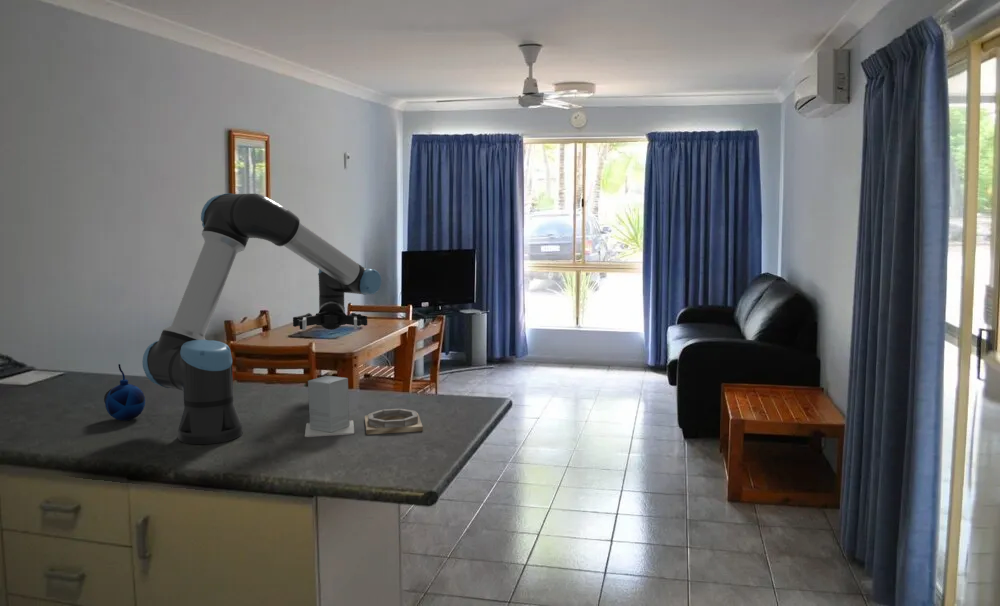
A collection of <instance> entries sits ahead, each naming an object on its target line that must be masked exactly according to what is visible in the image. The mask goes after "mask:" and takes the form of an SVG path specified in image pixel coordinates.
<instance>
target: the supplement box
mask: <svg viewBox="0 0 1000 606" xmlns="http://www.w3.org/2000/svg"><path fill="white" fill-rule="evenodd" d="M307 385H308V386H307V388H308V389H307V392H308V410H309V423H310V429H315V430H320V431H326V432H333V431H336V430H339V429H342V428H345V427H348V426H350V421H351V420H350V403H349V402H350V400H349V396H350V395H349V378H348V377H343V376H342V377H341V376H333V375H325V376H323V375H322V376H321V377H317V378H313V379H309V380H307Z"/></svg>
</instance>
